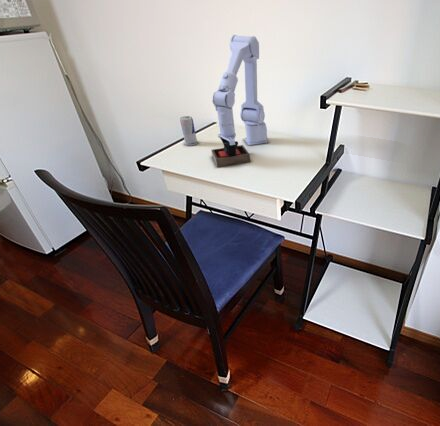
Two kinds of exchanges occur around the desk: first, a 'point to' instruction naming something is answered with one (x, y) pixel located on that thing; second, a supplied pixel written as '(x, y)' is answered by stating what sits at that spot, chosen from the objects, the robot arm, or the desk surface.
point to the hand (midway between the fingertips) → (230, 155)
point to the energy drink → (188, 130)
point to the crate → (231, 157)
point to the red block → (225, 153)
